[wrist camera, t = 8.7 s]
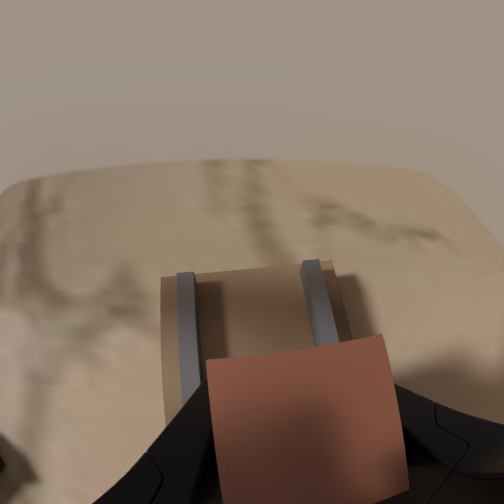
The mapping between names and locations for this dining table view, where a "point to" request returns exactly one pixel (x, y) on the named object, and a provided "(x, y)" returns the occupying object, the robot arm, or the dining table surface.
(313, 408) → the lever
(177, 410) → the ball pusher game
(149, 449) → the robot arm
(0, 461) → the dark brown bar
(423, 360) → the dining table surface
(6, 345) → the dining table surface
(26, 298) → the dining table surface
